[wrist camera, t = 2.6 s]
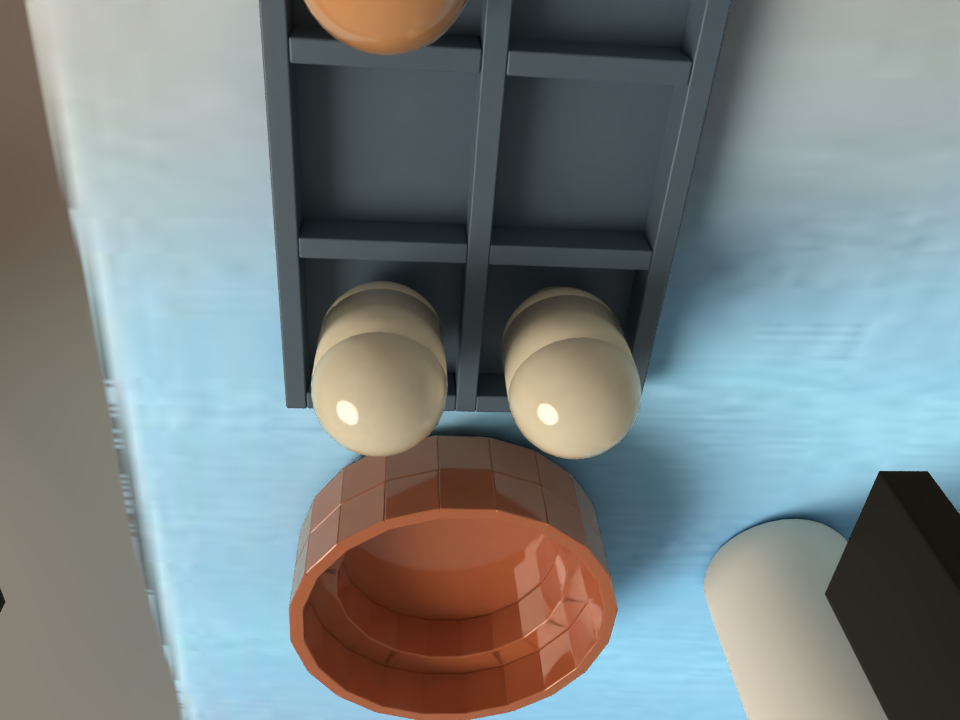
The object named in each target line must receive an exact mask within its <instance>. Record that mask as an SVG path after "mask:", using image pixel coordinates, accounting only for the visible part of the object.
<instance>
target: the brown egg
mask: <svg viewBox="0 0 960 720" xmlns="http://www.w3.org/2000/svg"><path fill="white" fill-rule="evenodd" d="M303 1H304V3H305V5H306V7H307V8H308V10H309V12H310V13H311V15H312V16H313V17H314V18H315V19H316V21H317V22H318V23H319V24H320V26H321V27H322V28H323V29H325V30H326V31H327V32H328V33H329V34H330V35H332V36H333V37H334V38H335V39H337V40H338V41H340V42H342V43H344V44H345V45H347V46H349V47H351V48H353V49H356V50H359V51H362V52H365V53H367V54H374V55H381V56H393V55H403V54H407V53H411V52H414V51H418V50H420V49H422V48H424V47H426V46H428V45H430V44H432V43H434V42H435V41H436V40H438V39H439V38H440V37H441V36H443V35H444V34H445V33H446V32H447V31H448V30H449V29H450V28H451V27H452V25H453V24H454V23H455V22H456V21H457V19H458V18H459V16H460V15H461V13H462V11H463V9H464V7H465V6H466V4H467V1H468V0H303Z"/></svg>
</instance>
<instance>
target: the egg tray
mask: <svg viewBox="0 0 960 720" xmlns="http://www.w3.org/2000/svg"><path fill="white" fill-rule="evenodd" d="M731 1H732V0H468V1H467V4H466V6H465V7H464V9H463V11H462V13H461V15H460V16H459V18H458V19H457V21H456V22H455V23H454V24H453V25H452V27H451V28H450V29H449V30H448V31H447V32H446V33H445V34H444V35H443V36H441V37H440V38H439V39H438V40H436V41H435V42H434V43H432V44H430V45H428V46H426V47H424V48H422V49H420V50H418V51H414V52H411V53H407V54H403V55H393V56H381V55H374V54H367V53H365V52H362V51H359V50H356V49H353V48H351V47H349V46H347V45H345V44H344V43H342V42H340V41H338V40H337V39H335V38H334V37H333V36H332V35H330V34H329V33H328V32H327V31H326V30H325V29H323V28H322V27H321V26H320V24H319V23H318V22H317V21H316V19H315V18H314V17H313V16H312V15H311V13H310V12H309V10H308V8H307V7H306V5H305V3H304V1H303V0H259V9H260V24H261V39H262V54H263V68H264V83H265V98H266V113H267V128H268V142H269V157H270V172H271V187H272V202H273V216H274V231H275V246H276V261H277V276H278V290H279V305H280V320H281V335H282V350H283V364H284V379H285V394H286V406H287V408H306V407H308V408H313V403H312V398H311V380H312V373H313V367H314V361H315V355H316V349H317V343H318V337H319V331H320V327H321V324H322V322H323V319H324V316H325V314H326V313H327V311H328V309H329V308H330V306H331V305H332V304H333V303H334V302H335V301H336V300H337V299H338V298H339V297H340V295H342V294H343V293H344V292H346V291H347V290H349V289H350V288H353V287H355V286H357V285H359V284H363V283H367V282H371V281H382V280H383V281H393V282H396V283H400V284H403V285H406V286H408V287H410V288H412V289H414V290H416V291H417V292H419V293H420V294H421V295H423V296H424V297H425V298H426V299H427V300H428V301H429V303H430V304H431V305H432V306H433V308H434V309H435V311H436V313H437V314H438V316H439V318H440V321H441V324H442V327H443V331H444V337H445V350H446V366H447V383H448V390H447V399H446V405H445V409H444V411H455V409H456V411H473V412H474V411H475V410H476V411H477V412H511V410H510V406H509V402H508V395H507V389H506V382H505V376H504V369H503V363H502V355H501V340H502V335H503V331H504V328H505V326H506V324H507V321H508V319H509V317H510V315H511V314H512V312H513V311H514V310H515V308H516V307H517V306H518V305H519V304H520V303H522V302H523V301H524V300H525V299H526V298H528V297H529V296H531V295H532V294H534V293H536V292H537V291H539V290H541V289H544V288H547V287H553V286H560V287H561V286H564V287H574V288H579V289H582V290H585V291H588V292H590V293H592V294H594V295H595V296H597V297H598V298H599V299H601V300H602V301H603V302H604V303H605V304H607V305H608V306H609V308H610V309H611V310H612V311H613V313H614V314H615V316H616V318H617V319H618V321H619V323H620V325H621V328H622V330H623V333H624V336H625V338H626V341H627V344H628V346H629V349H630V352H631V354H632V357H633V360H634V362H635V365H636V367H637V370H638V373H639V378H640V384H641V390H642V391H643V387H644V382H645V378H646V374H647V369H648V365H649V360H650V356H651V352H652V347H653V343H654V339H655V334H656V330H657V325H658V321H659V317H660V312H661V308H662V303H663V299H664V295H665V290H666V286H667V282H668V277H669V273H670V268H671V264H672V260H673V255H674V251H675V247H676V242H677V238H678V233H679V229H680V225H681V220H682V216H683V212H684V207H685V203H686V198H687V194H688V190H689V185H690V181H691V177H692V172H693V168H694V163H695V159H696V155H697V150H698V146H699V141H700V137H701V133H702V128H703V124H704V120H705V115H706V111H707V106H708V102H709V98H710V93H711V89H712V85H713V80H714V76H715V71H716V67H717V63H718V58H719V54H720V50H721V45H722V41H723V36H724V32H725V28H726V23H727V19H728V15H729V10H730V6H731ZM641 395H642V393H641Z"/></svg>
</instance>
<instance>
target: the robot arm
mask: <svg viewBox="0 0 960 720" xmlns="http://www.w3.org/2000/svg"><path fill="white" fill-rule="evenodd" d="M825 596H826V598H827V600H828V602H829V604H830V606H831V608H832V610H833V612H834V614H835V616H836V618H837V620H838V622H839V624H840V626H841V627H842V629H843V631H844V633H845V635H846V637H847V639H848V641H849V643H850V645H851V647H852V649H853V651H854V653H855V655H856V657H857V659H858V661H859V663H860V665H861V667H862V669H863V671H864V673H865V675H866V677H867V679H868V681H869V683H870V685H871V687H872V689H873V691H874V693H875V695H876V697H877V699H878V701H879V703H880V705H881V707H882V709H883V711H884V713H885V715H886V717H887V719H888V720H960V514H959V513H958V512H957V510H956V509H955V508H954V506H953V505H952V503H951V502H950V501H949V499H948V498H947V497H946V495H945V494H944V493H943V491H942V490H941V489H940V487H939V486H938V485H937V483H936V482H935V481H934V479H933V478H932V476H931V475H930V474H929V472H928V471H879V473H878V475H877V478H876V480H875V482H874V484H873V487H872V489H871V491H870V493H869V496H868V498H867V500H866V502H865V505H864V507H863V509H862V511H861V514H860V516H859V518H858V520H857V523H856V525H855V527H854V529H853V532H852V534H851V536H850V538H849V540H848V543H847V545H846V547H845V549H844V552H843V554H842V556H841V558H840V561H839V563H838V565H837V567H836V570H835V572H834V574H833V576H832V579H831V581H830V583H829V585H828V588H827V590H826V592H825ZM4 604H5V600H4V597H3V594H2V592H1V590H0V612H1V610H2V608H3V606H4Z"/></svg>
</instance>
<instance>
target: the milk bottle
mask: <svg viewBox="0 0 960 720" xmlns="http://www.w3.org/2000/svg"><path fill="white" fill-rule="evenodd" d="M847 543H848V542H847V540H846V539H845V538H844V537H843V536H842V535H840V534H839V533H838V532H836V531H835V530H833V529H832V528H830V527H828V526H826V525H824V524H822V523H819V522H815V521H812V520H803V519H782V520H777V521H772V522H767V523H764V524H761V525H758V526H755V527H752V528H750V529H748V530H746V531H744V532H742V533H740V534H738V535H737V536H735V537H734V538H732V539H731V540H729V541H728V542H727V543H726V544H725V545H724V546H722V547H721V548H720V549H719V550H718V551H717V553H716V554H715V555H714V556H713V558H712V559H711V561H710V563H709V565H708V567H707V570H706V574H705V579H704V595H705V598H706V601H707V604H708V608H709V611H710V614H711V617H712V620H713V623H714V625H715V628H716V631H717V634H718V637H719V640H720V642H721V645H722V648H723V651H724V654H725V657H726V659H727V662H728V665H729V668H730V671H731V673H732V676H733V679H734V682H735V685H736V688H737V690H738V693H739V696H740V699H741V702H742V704H743V707H744V710H745V713H746V715H747V718H748V720H888V719H887V717H886V715H885V713H884V711H883V709H882V707H881V705H880V703H879V701H878V699H877V697H876V695H875V693H874V691H873V689H872V687H871V685H870V683H869V681H868V679H867V677H866V675H865V673H864V671H863V669H862V667H861V665H860V663H859V661H858V659H857V657H856V655H855V653H854V651H853V649H852V647H851V645H850V643H849V641H848V639H847V637H846V635H845V633H844V631H843V629H842V627H841V626H840V624H839V622H838V620H837V618H836V616H835V614H834V612H833V610H832V608H831V606H830V604H829V602H828V600H827V598H826V596H825V592H826V590H827V588H828V585H829V583H830V581H831V579H832V576H833V574H834V572H835V570H836V567H837V565H838V563H839V561H840V558H841V556H842V554H843V552H844V549H845V547H846V545H847Z"/></svg>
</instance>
